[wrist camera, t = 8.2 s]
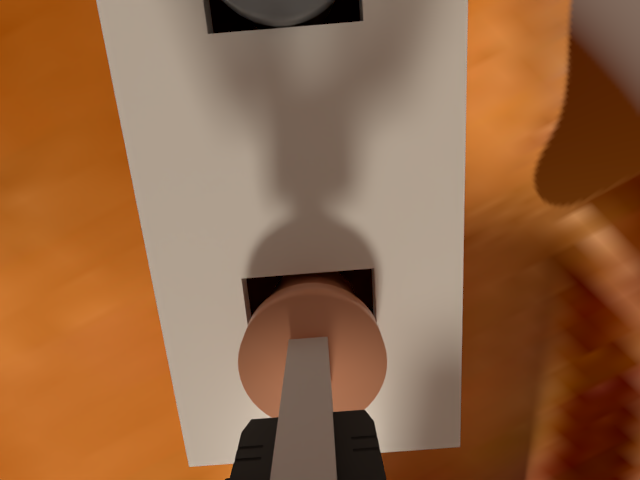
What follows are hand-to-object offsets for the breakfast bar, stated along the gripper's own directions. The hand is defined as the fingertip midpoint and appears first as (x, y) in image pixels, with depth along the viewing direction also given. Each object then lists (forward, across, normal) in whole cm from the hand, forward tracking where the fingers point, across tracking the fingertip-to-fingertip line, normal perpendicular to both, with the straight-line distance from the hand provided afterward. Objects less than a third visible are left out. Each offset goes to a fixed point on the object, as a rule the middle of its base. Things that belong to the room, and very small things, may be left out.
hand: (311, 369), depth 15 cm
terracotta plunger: (+6, 0, 0) cm, 6 cm away
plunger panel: (+9, 0, +8) cm, 12 cm away
